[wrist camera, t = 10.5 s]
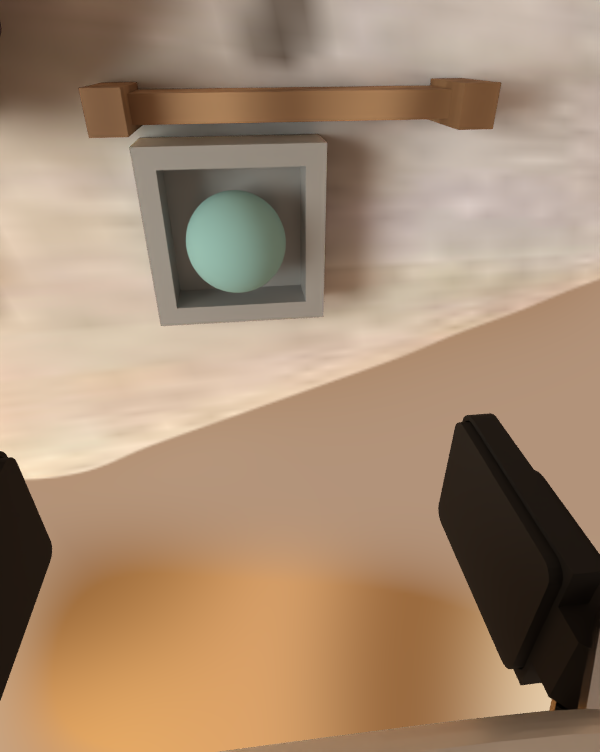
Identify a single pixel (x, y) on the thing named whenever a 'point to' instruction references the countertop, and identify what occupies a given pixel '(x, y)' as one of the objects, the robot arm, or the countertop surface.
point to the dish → (222, 173)
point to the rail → (287, 105)
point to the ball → (235, 241)
